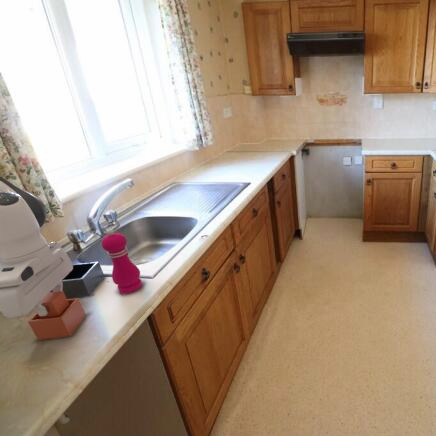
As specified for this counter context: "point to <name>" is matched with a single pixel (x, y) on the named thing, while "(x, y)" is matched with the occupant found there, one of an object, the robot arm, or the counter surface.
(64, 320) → the terracotta bin
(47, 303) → the terracotta block
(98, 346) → the counter surface
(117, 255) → the pepper mill
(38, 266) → the robot arm
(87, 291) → the grey bin
